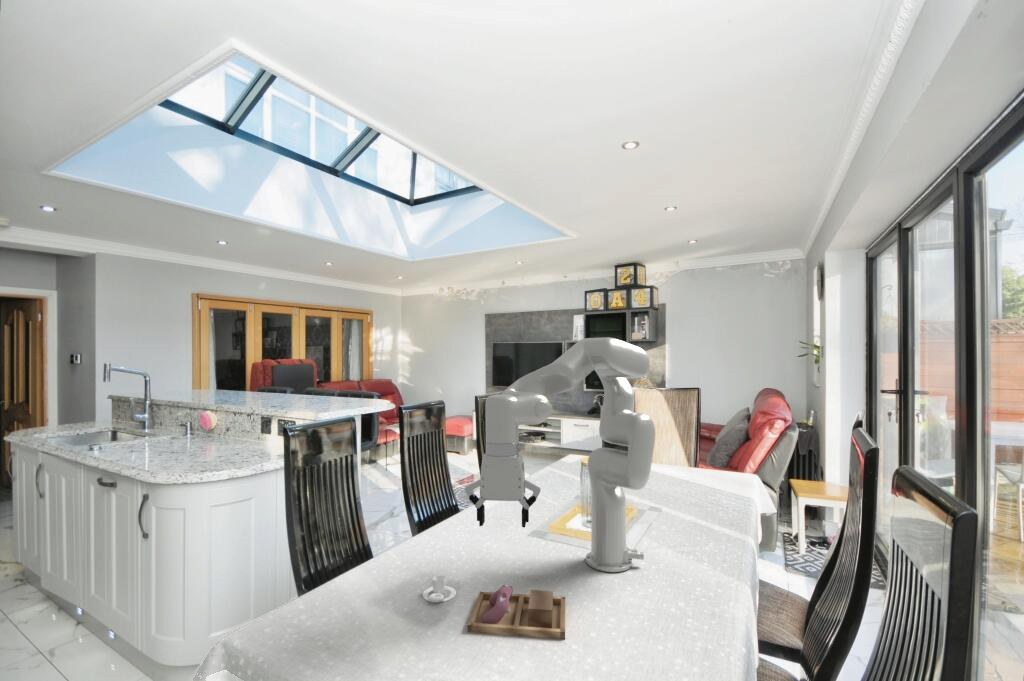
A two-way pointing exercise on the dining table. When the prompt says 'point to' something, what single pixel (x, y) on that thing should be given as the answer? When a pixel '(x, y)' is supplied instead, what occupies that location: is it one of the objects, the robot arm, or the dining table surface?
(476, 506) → the robot arm
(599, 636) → the dining table surface
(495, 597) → the video game controller
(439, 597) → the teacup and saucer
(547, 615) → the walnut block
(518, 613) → the oak organiser tray
